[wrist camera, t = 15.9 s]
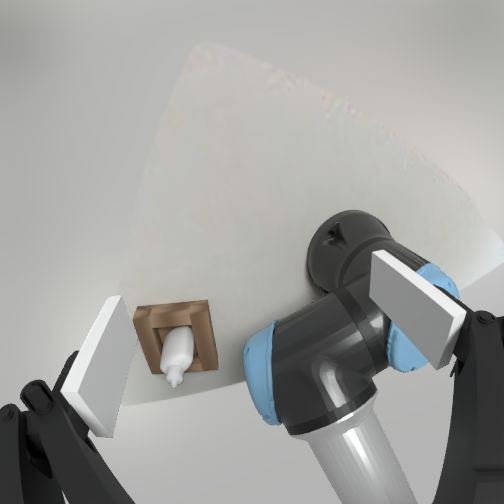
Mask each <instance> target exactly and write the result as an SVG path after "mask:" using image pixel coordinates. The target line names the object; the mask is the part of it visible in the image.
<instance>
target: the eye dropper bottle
mask: <svg viewBox="0 0 504 504" xmlns="http://www.w3.org/2000/svg"><path fill="white" fill-rule="evenodd" d="M193 349H194V334H193V330H191V329H190V328H189V327H188V326H186V325H184V326H180V327H177V328H175V329H173V330H172V331H170V332H169V333H168V335H167V336H166V338H165V340H164V344H163V350H162V356H161V362H160V369H161V370H162V371H163V372H164V373H165V374H166V380H167V381H168V382H169V383H170V384H171V387H172V388H176V386H177V385H179V384H181V383H182V382H183V372H184V371H186V370H187V369H188V368H189V366H190V365H191V363H192V361H193Z"/></svg>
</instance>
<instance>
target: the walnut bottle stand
mask: <svg viewBox="0 0 504 504" xmlns="http://www.w3.org/2000/svg"><path fill="white" fill-rule="evenodd" d="M133 323H134V326H135V329H136V332H137V335H138V338H139V341H140V343H141V346H142V349H143V352H144V354H145V357H146V360H147V362H148V365H149V367H150V370H151V372H152V374H165V373H164V372H163V371H162V370H161V369H160V362H161V356H162V350H163V344H164V340H165V338H166V336H167V335H168V333H169V332H170V331H172V330H173V329H175V328H177V327H180V326H184V325H186V326H188V327H189V328H190V329H191V330H193V334H194V349H193V361H192V363H191V365H190V366H189V368H188V369H187V370H186V371H184V372H197V371H208V370H218V355H217V350H216V344H215V339H214V333H213V328H212V322H211V316H210V311H209V305H208V300H200V301H191V302H181V303H171V304H160V305H149V306H138V307H137V309H136V312H135V314H134V317H133ZM184 372H183V373H184Z"/></svg>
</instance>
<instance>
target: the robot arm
mask: <svg viewBox="0 0 504 504" xmlns="http://www.w3.org/2000/svg"><path fill="white" fill-rule="evenodd" d="M307 264H308V270H309V273H310V276H311V278H312V279H313V281H314V282H315V284H316V285H317V287H318V288H319V289H320V290H321V291H322V292H323V293H325V294H326V295H325V296H323V297H321V298H320V299H318V300H316V301H314V302H313V303H311V304H309V305H307V306H305V307H304V308H302V309H300V310H298V311H296V312H295V313H293V314H291V315H289V316H287V317H285V318H283V319H281V320H279V321H277V320H275V321H273V322H272V323H271V325H269V326H268V327H266V328H264V329H263V330H261V331H259V332H257V333H256V334H254V335H252V336H251V337H250V338H249V339H248V340H247V342H246V344H245V346H244V351H243V366H244V373H245V377H246V382H247V385H248V389H249V392H250V395H251V397H252V400H253V402H254V404H255V407H256V409H257V410H258V412H259V414H260V415H262V417H263V420H264V421H265V422H266V423H268V424H269V425H281V424H282V423H283V424H284V425H285V427H286V429H287V431H288V433H289V435H290V436H291V437H293V438H297V439H301V440H305V441H307V442H308V443H309V445H310V447H311V449H312V450H313V452H314V454H315V456H316V458H317V460H318V461H319V463H320V465H321V467H322V469H323V471H324V472H325V474H326V476H327V478H328V480H329V481H330V483H331V485H332V487H333V488H334V490H335V492H336V494H337V495H338V497H339V499H340V501H341V502H342V504H418V503H417V501H416V499H415V496H414V494H413V492H412V490H411V488H410V485H409V483H408V481H407V479H406V477H405V475H404V472H403V470H402V468H401V466H400V464H399V462H398V460H397V457H396V455H395V453H394V451H393V449H392V447H391V445H390V443H389V441H388V439H387V437H386V435H385V433H384V431H383V428H382V426H381V425H380V422H379V420H378V418H377V416H376V414H375V412H374V410H373V404H374V401H375V399H376V396H377V394H378V390H377V388H376V386H375V384H374V382H373V380H372V377H373V376H375V375H376V374H377V373H379V372H381V371H382V370H384V369H386V368H387V367H389V366H391V367H393V368H394V369H396V370H398V371H400V372H409V371H414V370H417V369H419V368H421V367H422V366H424V365H425V364H427V363H428V362H429V363H430V364H431V365H432V366H433V367H434V368H435V370H438V369H440V368H442V367H444V366H446V365H448V364H449V362H450V359H451V357H452V354H454V355H455V356H456V357H457V359H456V362H455V364H454V367H453V369H452V372H451V374H450V377H452V375H453V373H454V372H455V378H454V394H453V406H452V416H451V423H450V430H449V437H448V443H447V448H446V454H445V459H444V464H443V468H442V472H441V476H440V480H439V485H438V488H437V492H436V495H435V498H434V501H433V503H432V504H504V316H502V317H495V316H494V315H493V314H491V313H489V312H487V311H476V312H473V311H472V310H471V309H470V308H468V307H467V306H466V305H465V304H463V303H462V302H461V301H459V292H458V289H457V286H456V284H455V283H454V281H453V280H452V279H451V278H450V277H449V276H447V275H446V274H445V273H444V272H443V271H441V270H440V268H439V267H438V266H437V265H435V264H432V263H430V262H429V261H427V260H425V259H424V258H422V257H421V256H419V255H417V254H416V253H414V252H412V251H411V250H409V249H407V248H406V247H404V246H402V245H401V244H399V243H397V242H396V241H395V240H394V239H393V238H392V237H391V235H390V233H389V231H388V229H387V228H386V226H385V225H384V224H383V223H382V222H381V221H380V220H379V219H378V218H376V217H374V216H373V215H371V214H369V213H366V212H363V211H359V210H348V211H344V212H341V213H338V214H336V215H334V216H332V217H331V218H329V219H328V220H327V221H326V222H324V223H323V224H322V225H321V227H320V228H319V229H318V230H317V232H316V233H315V235H314V237H313V238H312V241H311V243H310V246H309V250H308V256H307ZM137 340H138V337H137V335H136V332H135V330H134V327H133V325H132V322H131V320H130V317H129V314H128V312H127V309H126V306H125V304H124V301H123V298H122V295H120V296H113V297H108V299H107V301H106V302H105V304H104V306H103V308H102V310H101V311H100V313H99V315H98V317H97V319H96V320H95V322H94V324H93V326H92V328H91V330H90V332H89V334H88V335H87V337H86V339H85V341H84V343H83V345H82V347H81V349H80V351H75V352H74V353H73V354H72V355H71V356H70V357H69V358H68V359H67V361H66V363H65V365H64V368H63V369H62V371H61V374H60V375H59V377H58V379H57V382H56V384H55V386H54V388H53V390H52V391H51V390H50V389H49V387H48V386H47V384H46V383H45V381H43V380H34V381H31V382H30V383H28V384H27V385H26V386H25V387H24V388H23V389H22V391H21V394H20V399H21V400H22V402H23V403H24V404H25V406H26V407H27V408H28V409H29V411H24V412H21V411H20V410H19V408H18V407H17V406H16V405H15V404H7V405H5V406H3V407H2V408H1V409H0V504H65V500H64V497H63V493H62V491H63V492H64V494H65V497H66V498H67V500H68V502H69V504H135V503H134V501H133V500H132V499H131V497H130V496H129V495H128V494H127V492H126V491H125V490H124V488H123V487H122V486H121V484H120V483H119V482H118V480H117V479H116V478H115V476H114V475H113V473H112V472H111V470H110V469H109V468H108V466H107V465H106V463H105V462H104V460H103V459H102V457H101V455H100V454H99V452H98V451H97V449H96V447H95V446H94V444H93V443H92V441H91V440H90V438H89V437H88V436H87V435H88V431H89V429H90V430H91V431H92V432H93V433H94V434H95V436H96V437H106V438H113V433H114V428H115V424H116V420H117V415H118V411H119V407H120V403H121V399H122V395H123V391H124V387H125V383H126V379H127V375H128V372H129V368H130V364H131V361H132V357H133V354H134V350H135V347H136V344H137Z"/></svg>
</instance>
